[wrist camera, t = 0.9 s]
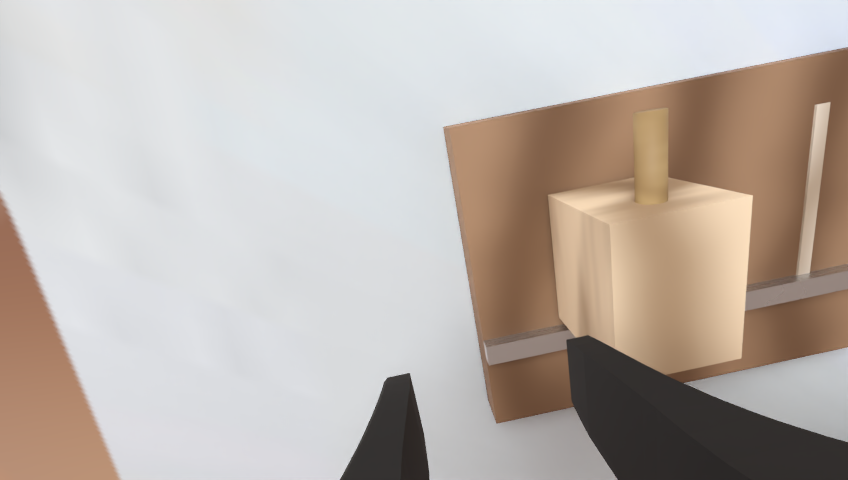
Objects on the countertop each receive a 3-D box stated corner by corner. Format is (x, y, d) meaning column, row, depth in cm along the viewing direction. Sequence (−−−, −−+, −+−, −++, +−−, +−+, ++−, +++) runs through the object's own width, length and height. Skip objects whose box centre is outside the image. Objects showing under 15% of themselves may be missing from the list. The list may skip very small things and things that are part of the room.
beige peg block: (651, 101, 16) (759, 94, 11) (652, 297, 19) (741, 358, 14) (541, 123, 16) (605, 125, 11) (558, 317, 19) (616, 385, 14)
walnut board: (869, 43, 18) (921, 34, 16) (828, 326, 23) (866, 344, 21) (443, 126, 18) (449, 128, 16) (488, 400, 22) (497, 424, 21)
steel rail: (879, 256, 20) (894, 260, 19) (876, 275, 20) (890, 279, 19) (483, 340, 19) (486, 347, 19) (486, 358, 19) (489, 365, 19)
